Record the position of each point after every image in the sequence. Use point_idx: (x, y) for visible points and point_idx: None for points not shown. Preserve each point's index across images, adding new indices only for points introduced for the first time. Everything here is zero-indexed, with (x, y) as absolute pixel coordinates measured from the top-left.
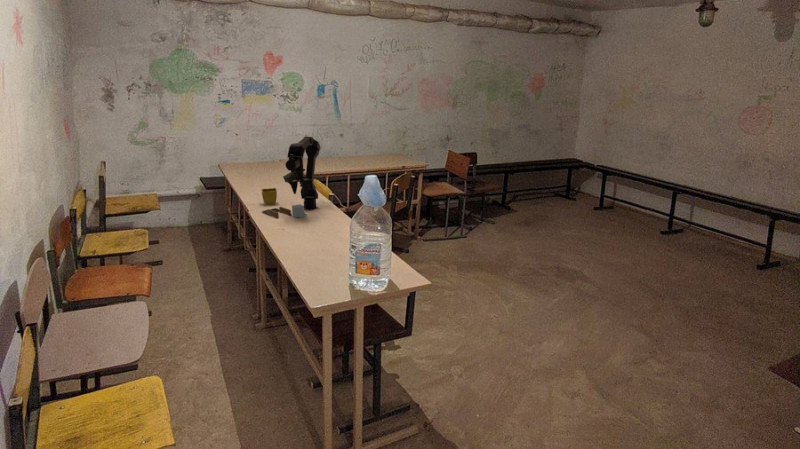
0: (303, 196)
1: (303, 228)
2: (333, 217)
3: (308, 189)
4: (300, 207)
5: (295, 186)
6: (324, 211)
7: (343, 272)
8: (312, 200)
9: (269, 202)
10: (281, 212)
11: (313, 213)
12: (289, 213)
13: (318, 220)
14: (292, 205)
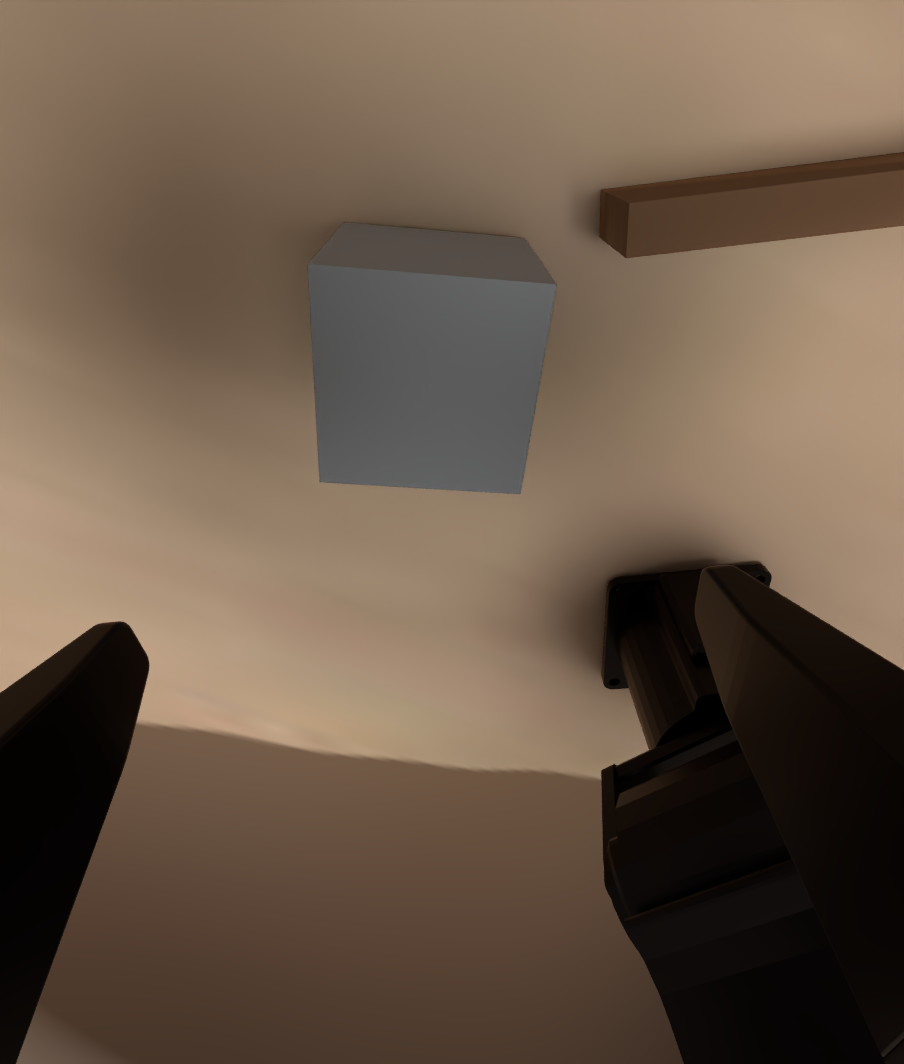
0: (100, 626)
1: None
2: None
3: (706, 915)
4: (319, 395)
5: (859, 897)
6: (438, 677)
7: None
8: (647, 731)
9: None
10: (897, 154)
11: (441, 559)
12: (610, 209)
13: (48, 459)
14: (547, 297)
